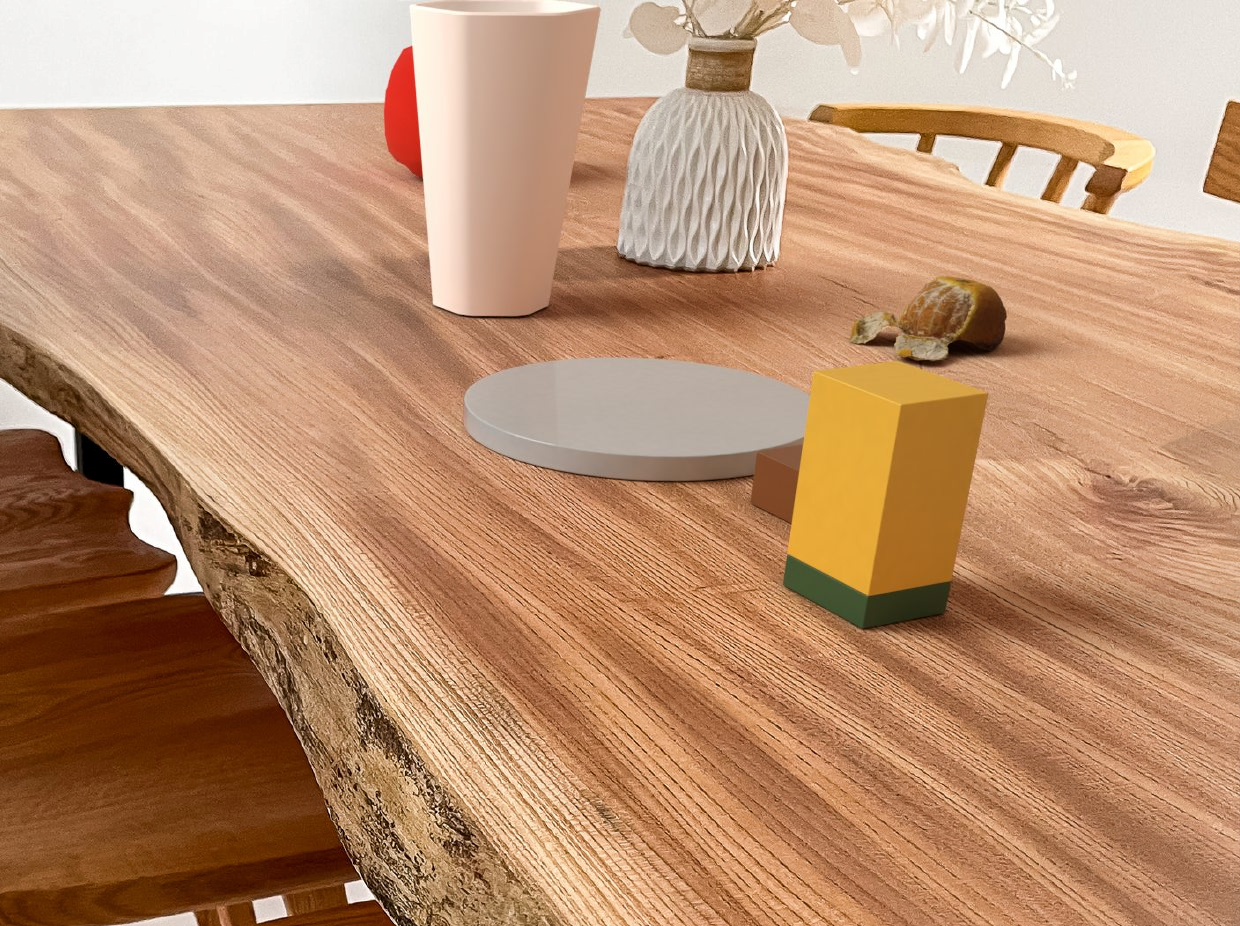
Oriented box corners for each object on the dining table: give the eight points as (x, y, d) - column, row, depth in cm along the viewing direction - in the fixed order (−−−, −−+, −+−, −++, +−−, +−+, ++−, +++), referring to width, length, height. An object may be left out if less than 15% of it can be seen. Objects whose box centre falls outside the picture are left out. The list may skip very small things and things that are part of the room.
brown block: (821, 492, 81) (829, 440, 79) (878, 518, 78) (888, 465, 76) (749, 503, 79) (756, 450, 78) (804, 531, 76) (812, 476, 75)
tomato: (378, 188, 149) (380, 51, 144) (386, 163, 161) (389, 35, 155) (539, 191, 148) (547, 53, 143) (537, 166, 160) (544, 37, 154)
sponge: (782, 585, 71) (813, 370, 66) (862, 571, 72) (898, 360, 68) (862, 629, 67) (901, 404, 62) (945, 613, 68) (989, 392, 64)
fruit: (833, 333, 106) (843, 270, 104) (950, 324, 109) (962, 262, 107) (914, 368, 100) (925, 301, 98) (1036, 356, 102) (1050, 291, 100)
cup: (404, 323, 108) (412, 12, 99) (400, 286, 117) (407, -3, 108) (586, 324, 108) (610, 13, 99) (569, 288, 117) (590, -1, 108)
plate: (766, 377, 98) (769, 355, 97) (870, 479, 82) (874, 453, 82) (444, 380, 97) (444, 358, 96) (488, 484, 81) (489, 458, 81)
